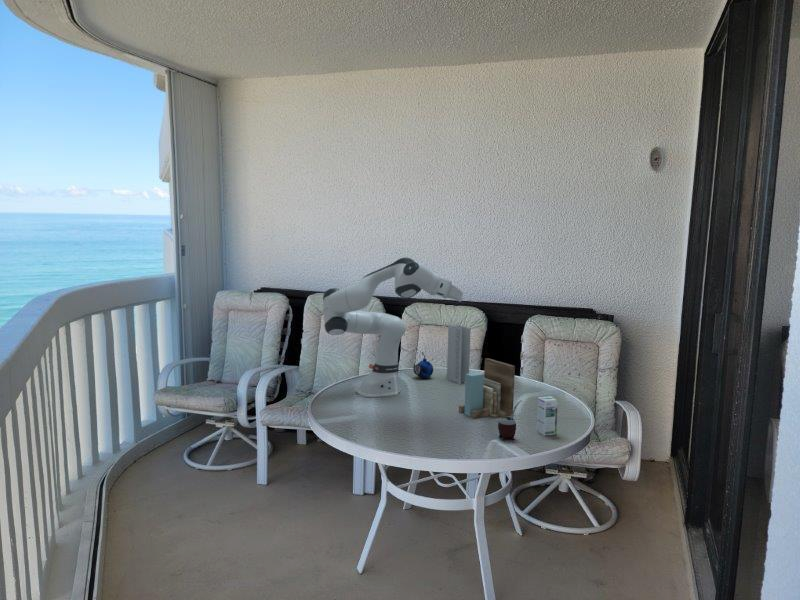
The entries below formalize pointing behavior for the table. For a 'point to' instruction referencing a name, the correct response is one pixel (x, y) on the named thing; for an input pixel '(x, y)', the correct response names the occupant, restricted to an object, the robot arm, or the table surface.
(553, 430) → the syrup box
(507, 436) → the mate gourd
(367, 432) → the table surface
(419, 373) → the bomb
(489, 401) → the offcut stack
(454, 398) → the table surface
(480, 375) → the light blue tall block
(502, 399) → the offcut rack
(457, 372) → the brochure
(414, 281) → the robot arm
